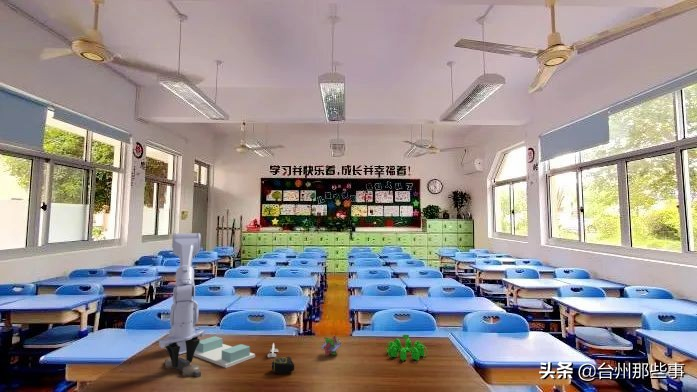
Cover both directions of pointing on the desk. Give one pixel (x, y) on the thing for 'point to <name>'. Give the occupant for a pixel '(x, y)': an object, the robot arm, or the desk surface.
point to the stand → (222, 352)
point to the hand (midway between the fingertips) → (182, 364)
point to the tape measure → (282, 365)
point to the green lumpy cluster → (406, 349)
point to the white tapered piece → (273, 351)
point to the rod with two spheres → (184, 367)
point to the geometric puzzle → (331, 345)
